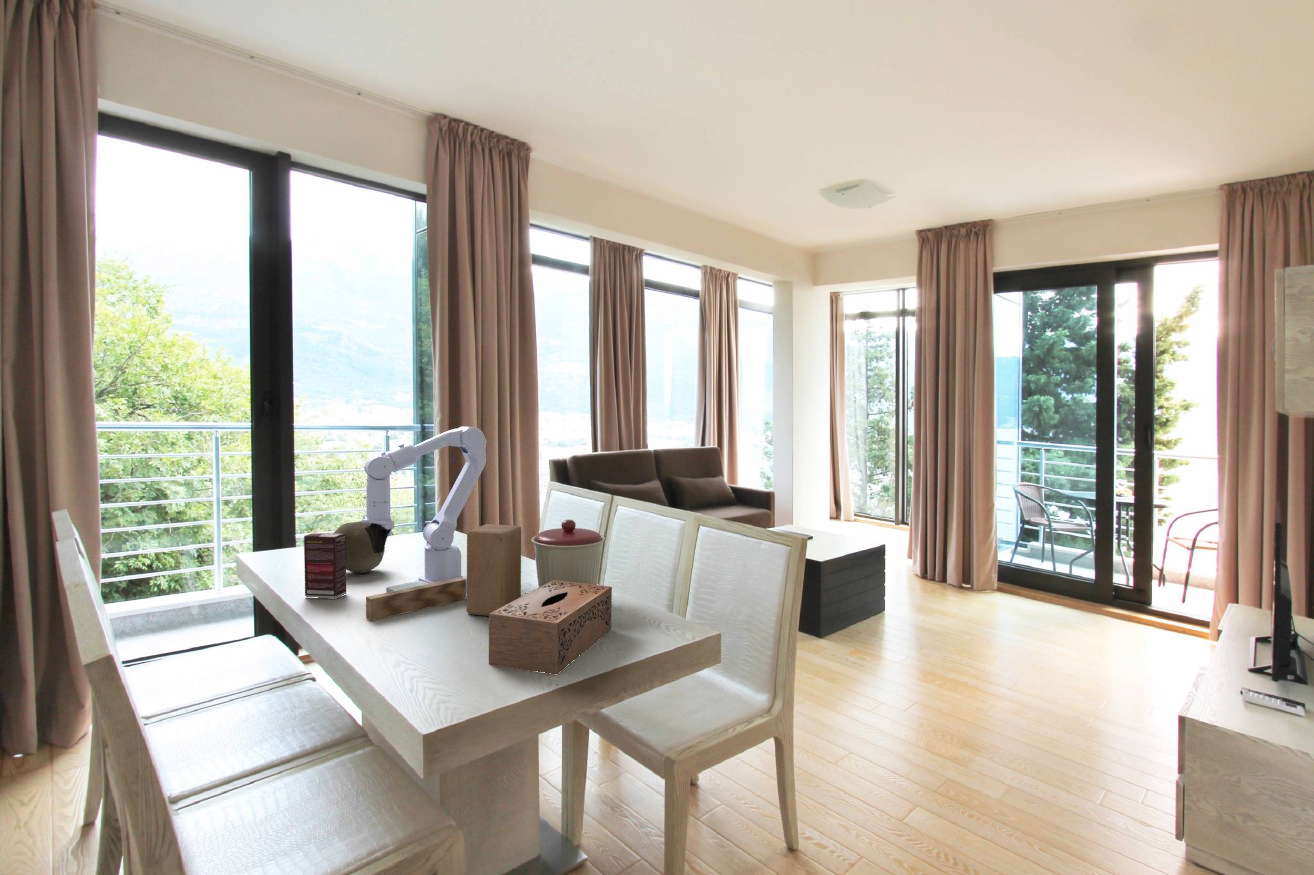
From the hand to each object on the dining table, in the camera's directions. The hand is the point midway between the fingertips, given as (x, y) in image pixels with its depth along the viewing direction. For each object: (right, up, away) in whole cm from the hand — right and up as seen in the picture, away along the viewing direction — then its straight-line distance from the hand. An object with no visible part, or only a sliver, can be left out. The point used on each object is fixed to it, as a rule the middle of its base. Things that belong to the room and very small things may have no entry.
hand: (378, 552), depth 171 cm
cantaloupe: (-12, -9, +14) cm, 20 cm away
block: (+14, -11, -13) cm, 22 cm away
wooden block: (+35, -11, -17) cm, 41 cm away
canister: (+52, -11, -11) cm, 54 cm away
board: (+17, -11, -16) cm, 26 cm away
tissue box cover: (+53, -13, -39) cm, 67 cm away
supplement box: (-10, -10, -8) cm, 16 cm away
